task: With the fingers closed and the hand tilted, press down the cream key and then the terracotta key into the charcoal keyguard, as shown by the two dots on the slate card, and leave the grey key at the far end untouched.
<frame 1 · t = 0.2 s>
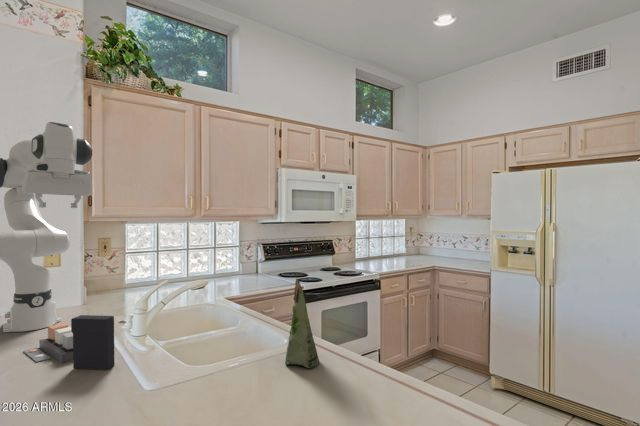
hand: (58, 207, 128), 48 cm above the countertop, tool pointing down, fingers open, 8 cm apart
grey key: (73, 339, 117), point 5 cm above the countertop, slide at 0.0 cm
terracotta key: (58, 331, 125), point 5 cm above the countertop, slide at 0.0 cm
cream key: (65, 335, 121), point 5 cm above the countertop, slide at 0.0 cm
green tall pyramid: (300, 363, 110), on the countertop
keyguard frame: (65, 350, 121), on the countertop
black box: (94, 367, 108), on the countertop
prompt card: (36, 355, 117), on the countertop
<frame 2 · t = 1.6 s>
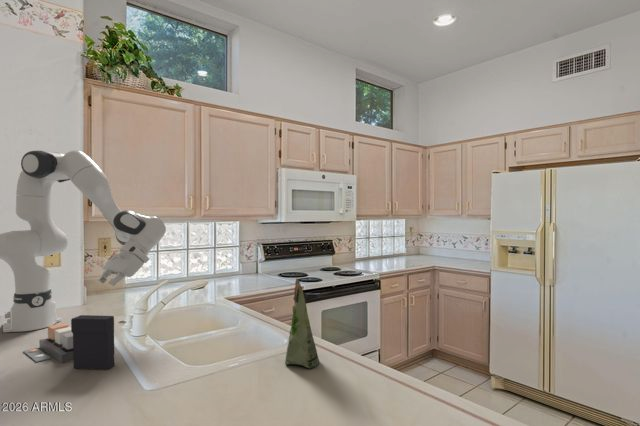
hand: (105, 283, 131), 20 cm above the countertop, tool tilted 45°, fingers open, 8 cm apart
nothing on the countertop moved.
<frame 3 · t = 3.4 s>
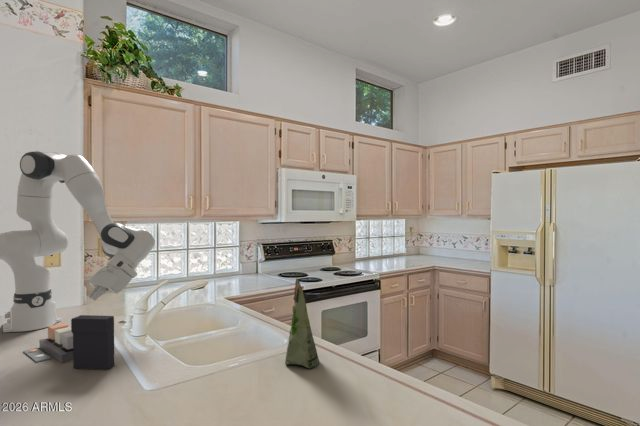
hand: (91, 299, 127), 16 cm above the countertop, tool tilted 45°, fingers closed
nothing on the countertop moved.
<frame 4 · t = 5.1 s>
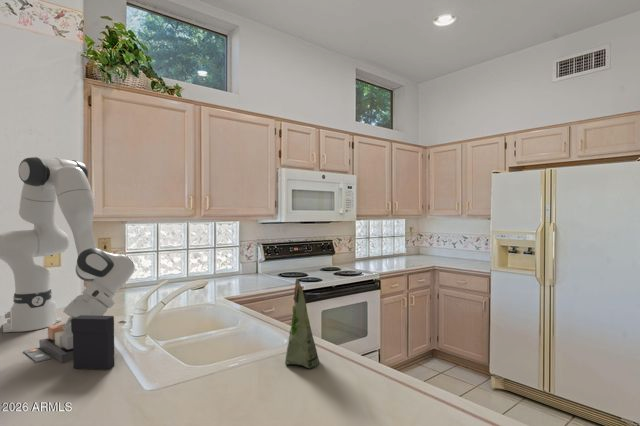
hand: (65, 330, 121), 7 cm above the countertop, tool tilted 45°, fingers closed
cream key: (65, 338, 121), point 4 cm above the countertop, slide at 1.0 cm, touching gripper
everything else where it was.
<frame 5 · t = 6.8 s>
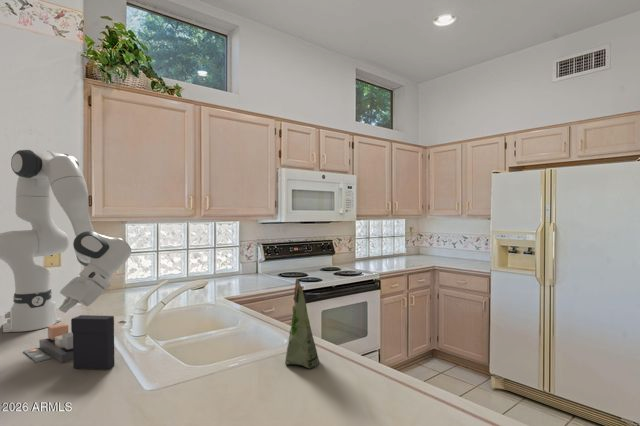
hand: (61, 311, 122), 13 cm above the countertop, tool tilted 45°, fingers closed
cream key: (65, 342, 121), point 3 cm above the countertop, slide at 2.2 cm
everything else where it was.
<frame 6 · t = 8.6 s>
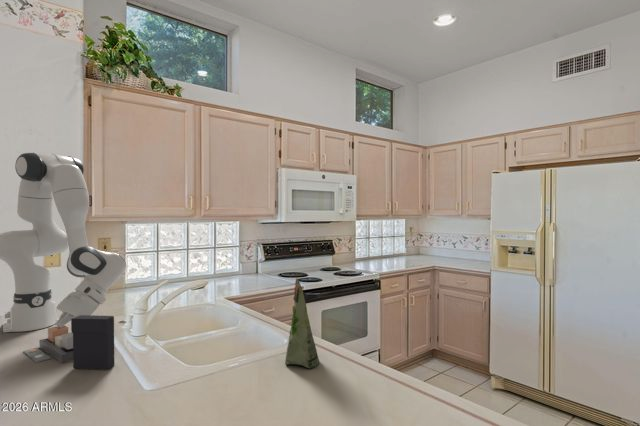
hand: (57, 326, 125), 7 cm above the countertop, tool tilted 45°, fingers closed
terracotta key: (58, 333, 125), point 4 cm above the countertop, slide at 0.7 cm, touching gripper
everything else where it was.
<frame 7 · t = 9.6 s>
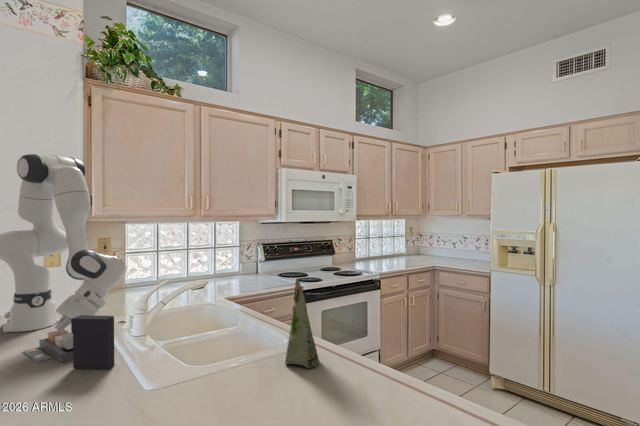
hand: (57, 329, 125), 6 cm above the countertop, tool tilted 45°, fingers closed
terracotta key: (58, 337, 125), point 3 cm above the countertop, slide at 2.2 cm
everything else where it was.
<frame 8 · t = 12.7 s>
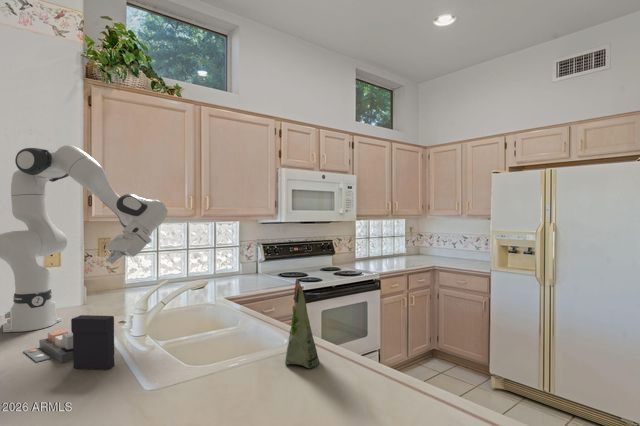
hand: (108, 262, 135), 27 cm above the countertop, tool tilted 45°, fingers closed
nothing on the countertop moved.
at the end: cream key slide at 2.2 cm; terracotta key slide at 2.2 cm; grey key slide at 0.0 cm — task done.
